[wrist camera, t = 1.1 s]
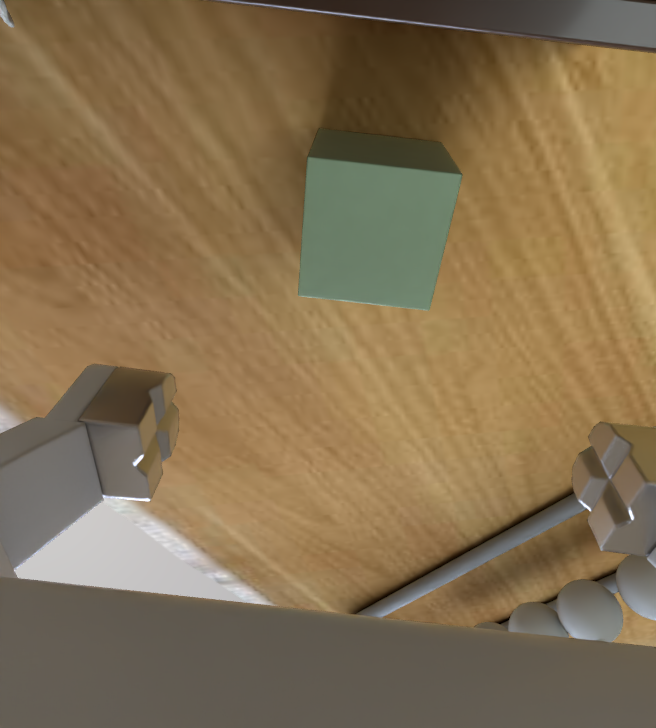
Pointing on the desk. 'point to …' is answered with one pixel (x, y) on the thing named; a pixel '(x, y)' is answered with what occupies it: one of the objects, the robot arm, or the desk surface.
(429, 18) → the chest
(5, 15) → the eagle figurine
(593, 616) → the newton's cradle
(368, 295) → the block
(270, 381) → the desk surface
